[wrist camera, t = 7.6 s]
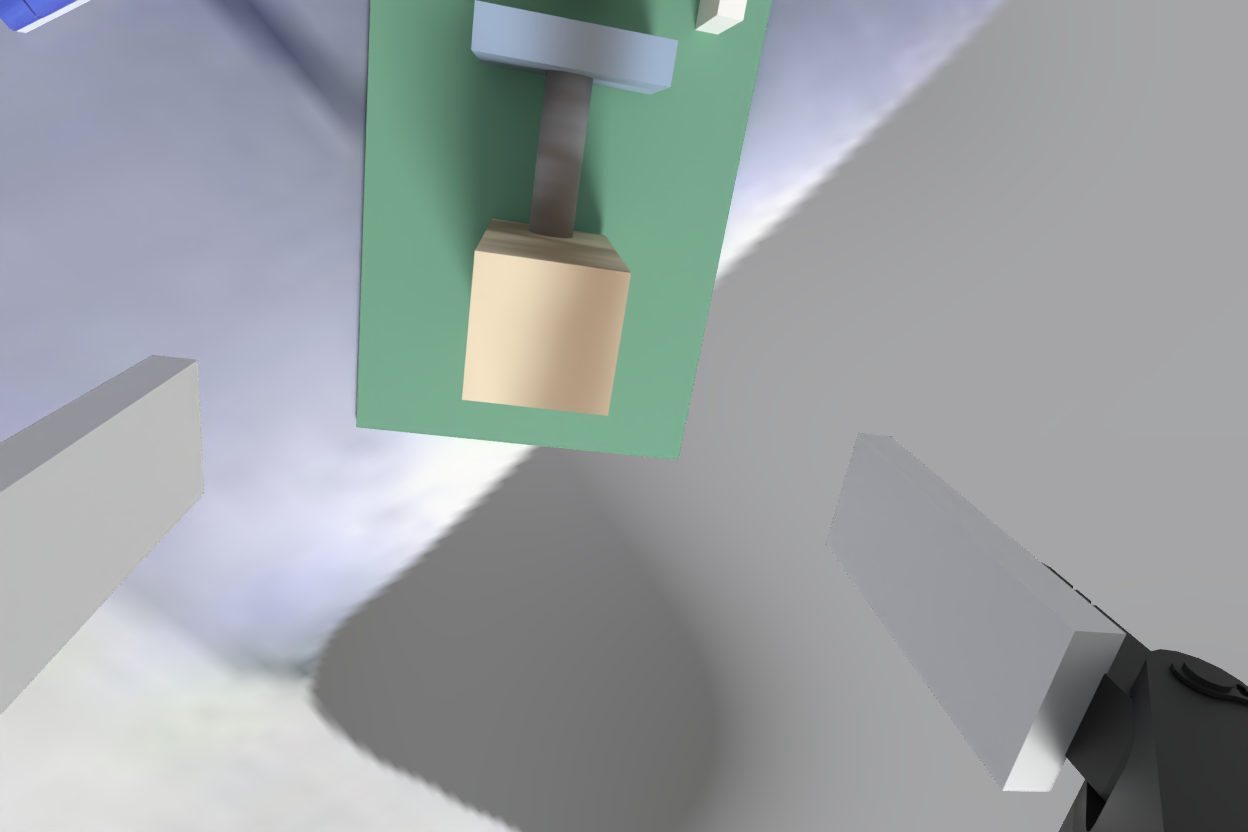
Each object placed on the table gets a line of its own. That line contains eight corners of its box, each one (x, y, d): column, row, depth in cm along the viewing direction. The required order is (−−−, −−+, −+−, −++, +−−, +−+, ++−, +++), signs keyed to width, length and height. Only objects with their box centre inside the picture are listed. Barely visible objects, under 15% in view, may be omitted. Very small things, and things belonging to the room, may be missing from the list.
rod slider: (459, 326, 33) (431, 396, 24) (485, 22, 28) (461, -29, 20) (610, 345, 34) (635, 418, 25) (656, 55, 30) (706, 21, 21)
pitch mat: (358, 424, 35) (356, 427, 34) (380, -238, 26) (378, -244, 26) (676, 456, 37) (678, 459, 37) (797, -136, 28) (800, -140, 28)
